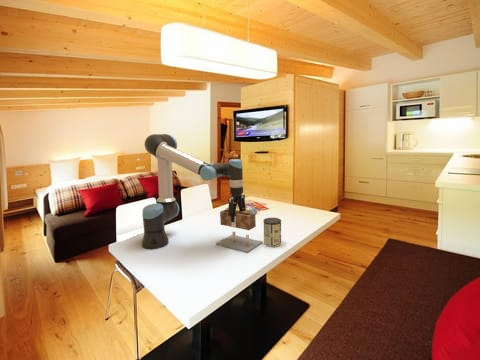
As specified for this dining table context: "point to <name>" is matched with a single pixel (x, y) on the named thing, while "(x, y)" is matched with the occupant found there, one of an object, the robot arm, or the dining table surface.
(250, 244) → the peg board
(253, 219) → the wooden hollow block
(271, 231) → the coffee can
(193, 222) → the dining table surface
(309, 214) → the dining table surface
